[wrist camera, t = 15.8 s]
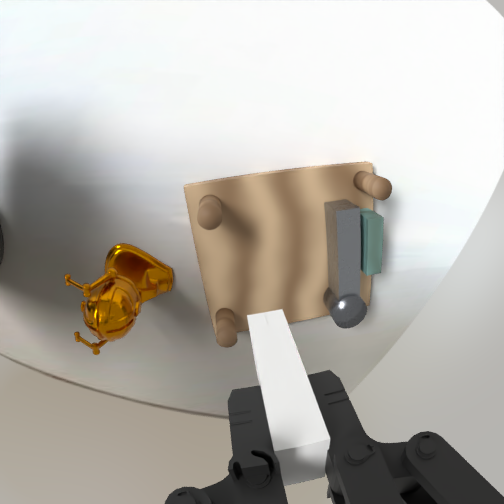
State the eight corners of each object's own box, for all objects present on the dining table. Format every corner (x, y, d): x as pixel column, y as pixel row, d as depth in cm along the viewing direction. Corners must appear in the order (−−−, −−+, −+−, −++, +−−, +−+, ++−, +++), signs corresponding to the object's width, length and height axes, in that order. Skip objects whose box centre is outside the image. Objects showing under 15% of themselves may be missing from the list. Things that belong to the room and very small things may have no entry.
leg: (353, 305, 41) (365, 323, 37) (323, 312, 41) (334, 331, 37) (352, 198, 35) (368, 207, 31) (317, 203, 35) (331, 213, 31)
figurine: (91, 240, 35) (51, 286, 24) (174, 247, 37) (160, 299, 26) (96, 299, 38) (66, 356, 27) (172, 307, 40) (162, 370, 29)
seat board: (215, 329, 42) (216, 360, 36) (184, 184, 34) (178, 197, 28) (365, 300, 43) (384, 325, 37) (366, 161, 35) (393, 169, 30)
